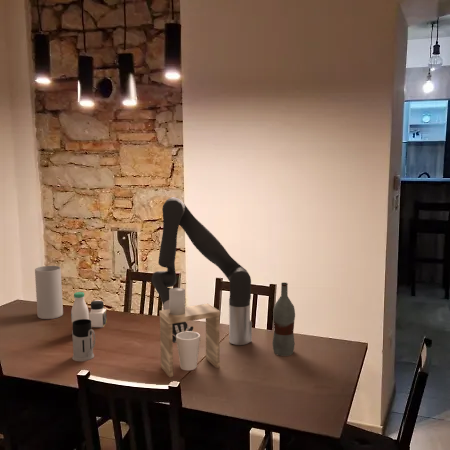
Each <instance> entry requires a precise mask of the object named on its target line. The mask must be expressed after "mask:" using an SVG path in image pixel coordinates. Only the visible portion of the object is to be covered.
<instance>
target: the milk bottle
mask: <svg viewBox="0 0 450 450" xmlns="http://www.w3.org/2000/svg"><path fill="white" fill-rule="evenodd" d="M73 299H74V302H73V304H72V306H71V307H72V308H71V311H70V313H71V314H70V316H71V323H72V322H74V321H76V320H80V319H88V320H89V308H88V305H87V303H86V301H85V293H84V292H83V291H79V292H78V291H76V292H74V293H73ZM72 332H73V327H72V326H71V333H72Z"/></svg>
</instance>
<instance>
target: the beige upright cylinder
mask: <svg viewBox="0 0 450 450" xmlns="http://www.w3.org/2000/svg"><path fill="white" fill-rule="evenodd" d="M171 288H172V289H170V290H169V309H170V314H171V315H183V314H185V307H186V289H185V288H183V287H174V288H173V287H171Z"/></svg>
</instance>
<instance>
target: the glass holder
mask: <svg viewBox="0 0 450 450" xmlns="http://www.w3.org/2000/svg"><path fill="white" fill-rule="evenodd" d="M72 327H73V332H72V331H71V335H72V350H73V351H72V354H73V355H72V360H73V361H75V362H87V361H89V360H90V361H91V360H92V359H94V357H95V354H94V348H95V345H96V333H95V330H94V329H92V328H93V327H91V320H88V319H80V320H76V321H74V322H72V321H71V328H72Z"/></svg>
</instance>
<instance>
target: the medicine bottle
mask: <svg viewBox="0 0 450 450" xmlns="http://www.w3.org/2000/svg"><path fill="white" fill-rule="evenodd" d="M104 307H105V306H104V301H103V300H97V299H96V300H93V301H91V302H90V310H89V311H88V313H89V320H91V328H104V327H105V326H106V324H107V322H108V320H107V319H108V317H107V315H108V314H107V308H104Z"/></svg>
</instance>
